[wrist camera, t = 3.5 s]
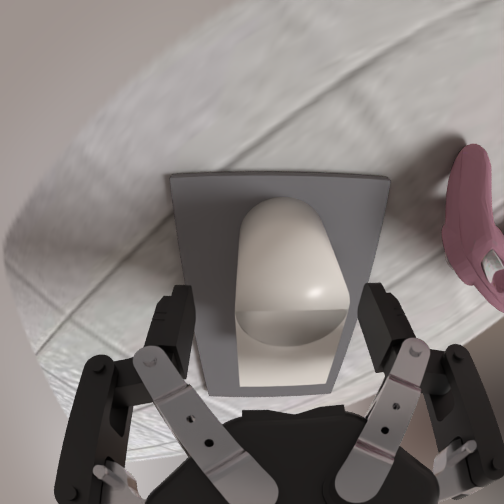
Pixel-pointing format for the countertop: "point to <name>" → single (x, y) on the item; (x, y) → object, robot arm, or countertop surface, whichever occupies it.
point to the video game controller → (474, 226)
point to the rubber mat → (227, 245)
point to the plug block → (287, 296)
